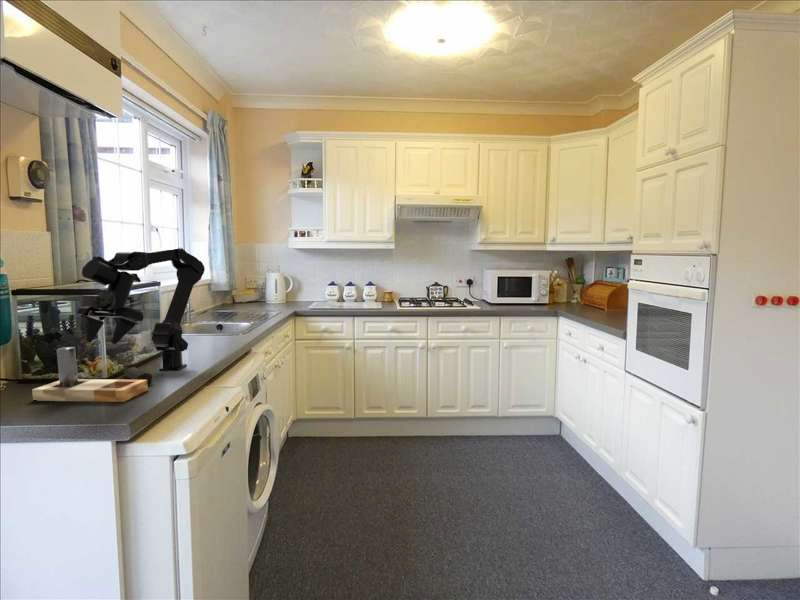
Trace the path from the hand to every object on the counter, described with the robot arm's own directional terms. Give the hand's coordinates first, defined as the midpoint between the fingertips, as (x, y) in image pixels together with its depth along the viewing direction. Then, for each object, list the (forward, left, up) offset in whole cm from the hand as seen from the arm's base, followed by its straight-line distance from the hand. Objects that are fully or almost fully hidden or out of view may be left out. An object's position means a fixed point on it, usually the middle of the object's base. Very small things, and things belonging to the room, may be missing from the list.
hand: (100, 343), depth 123 cm
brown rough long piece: (-10, +1, -14) cm, 17 cm away
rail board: (+5, 0, -14) cm, 14 cm away
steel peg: (+5, -6, -14) cm, 16 cm away
